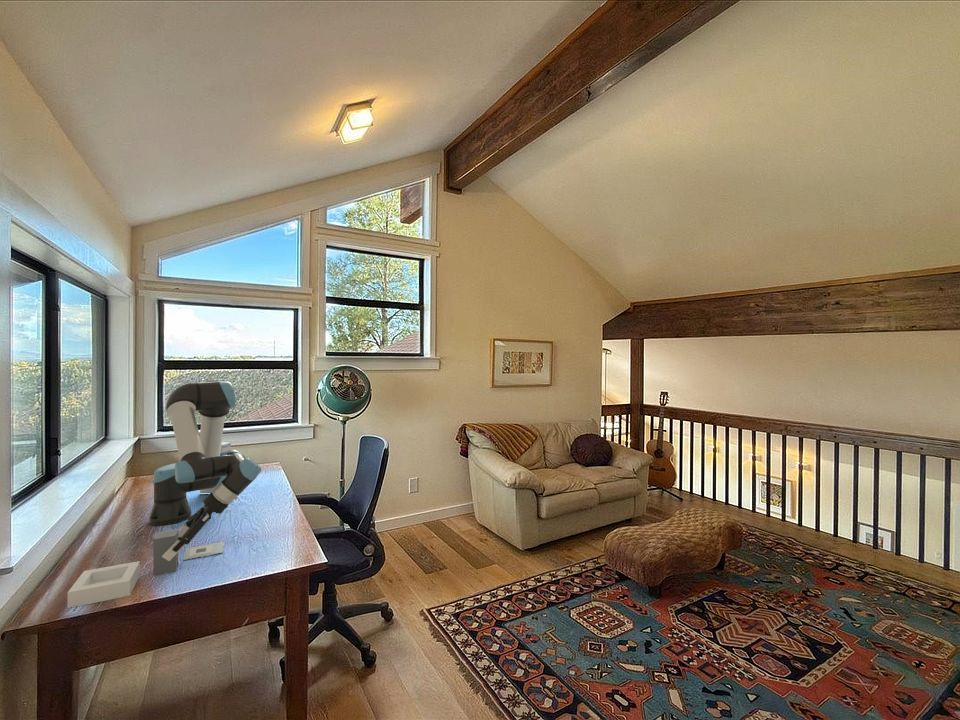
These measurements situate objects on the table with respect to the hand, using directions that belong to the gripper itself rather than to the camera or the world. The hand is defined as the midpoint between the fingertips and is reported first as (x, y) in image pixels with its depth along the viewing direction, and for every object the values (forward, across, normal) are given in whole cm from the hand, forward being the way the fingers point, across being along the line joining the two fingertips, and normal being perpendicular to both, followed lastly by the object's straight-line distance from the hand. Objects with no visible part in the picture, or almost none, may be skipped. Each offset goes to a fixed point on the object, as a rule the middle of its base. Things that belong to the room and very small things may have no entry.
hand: (168, 550), depth 146 cm
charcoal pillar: (+5, +1, -4) cm, 7 cm away
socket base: (+15, -6, +6) cm, 17 cm away
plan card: (-2, +11, -11) cm, 16 cm away
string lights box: (-1, +88, -11) cm, 88 cm away
